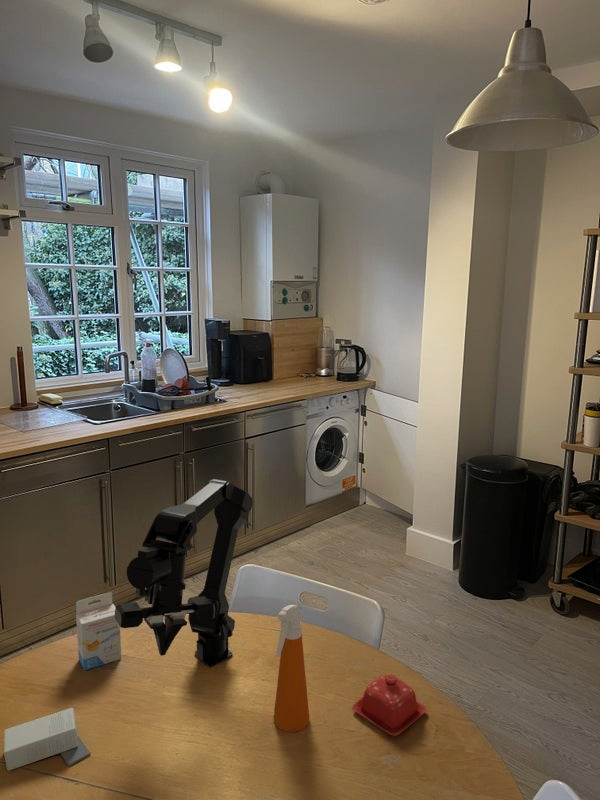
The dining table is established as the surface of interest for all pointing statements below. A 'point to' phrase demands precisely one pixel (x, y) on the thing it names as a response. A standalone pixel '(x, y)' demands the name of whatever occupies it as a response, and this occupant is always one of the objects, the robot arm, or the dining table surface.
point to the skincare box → (40, 738)
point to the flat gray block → (75, 753)
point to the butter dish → (389, 704)
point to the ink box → (97, 631)
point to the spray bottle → (291, 674)
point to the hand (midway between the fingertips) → (162, 654)
